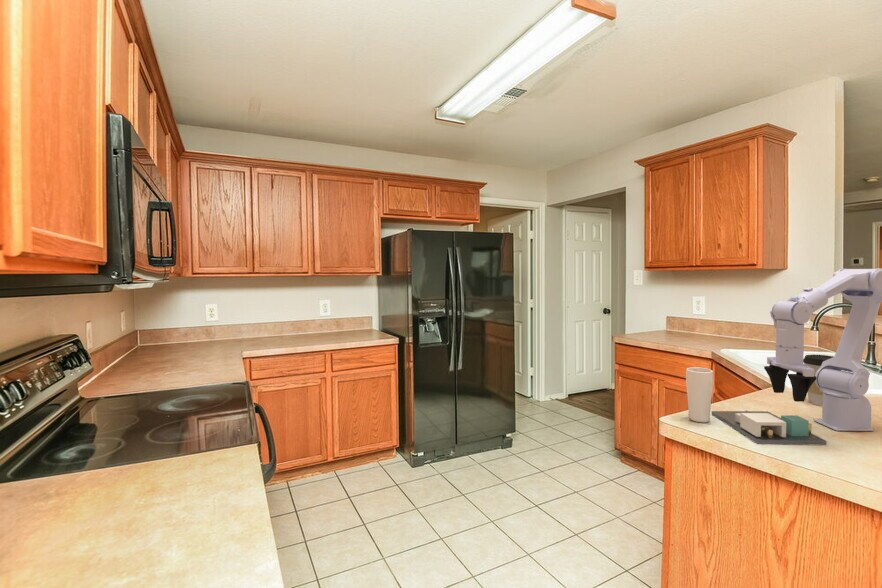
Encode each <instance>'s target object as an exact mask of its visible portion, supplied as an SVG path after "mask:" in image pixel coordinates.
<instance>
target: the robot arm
mask: <svg viewBox="0 0 882 588" xmlns="http://www.w3.org/2000/svg"><path fill="white" fill-rule="evenodd" d="M802 289H803V291H801V292H799V293H797V294H796V295H793V296H791V297H790V298H788V299H787V300H779V301H778V302H776V303H775V304H773V306H772V308H771V310H770V312H769V314H770V317H771V319H772V321H773V326H774V328H775V356H767V357H766V363H767V365H765V366H764V365H763V367H764V370H765V372H766V373H767V375H768V378H769V380H770V383H771V388H772V391H773V393H775V394H783V393H784V392H785V388H786V380H787V377H788V379H789V381H790V385H791V389H792V399H793V401H794V402H800V403H801V402H803V403H804V402H805V400H806V398H807V396H808V390H809V388H810V386H811V385H812V384H813V382H814V381H815V383H816V385H817V386H818V387H819V388H820V391H821V392H823V406H821V407H822V411H821V413H822V414H821V418H814V419H813V421H814V422H815V423H818V424H819V425H820V424H821V425H823V426H825V427H826V428H828V429H831V430H834V431H838V432H839V431H840V432H841V431H843V432H844V431H845V432H846V431H847V432H852V431H853V432H873V431H874V428H872V427H871V426H872V424H871V423H872V405H871V402H870V400H869V399H868V398H867V397H866V396H865V395H866V394H867V392H868V390H869V386H870V385H869V378H870V375H871V374H870V371H868V369H867V368H866V367H864V365H863V364H862V363H861V362H862V358H863V357H864V353H865V351H866V347H867V345H868V341H869V339H870V336H871V334H872V330H873V327H874V324H875V322H876V319H877V316H878V313H879V311H880V307H881V304H882V267H881V268H880V267H879V268H878V267H876V268H840V269H838V270H836V271H834V272H833V274H832V277H831V278H829V279H828V280H827V281H825V282H824V283H822V284H821V285H820V286H818V287H808V286H807V287H805V288H802ZM838 294H841V295H842V296H843V299H845V300H847V301H849V302H850V303H851V304H852V305H851V308H850V312H849V315H848V317H847V320H846V323H845V325H844V329H843V332H842V334H841V337H840V339H839V344H838V346H837V349H836V352H835V354H834V356H833V358H831V359H828V360H826V361H823V363H822V365H821V367H820V369H819V370H818V371H817V372H816V374H815V376H814V369H812V368H810V367H808V366H807V365H805V364H804V363H803V359H804V354H805V353H804V348H805V347H804V345H805V344H804V343H805V342H804V341H805V335H804V334H805V333H804V332H805V324H807V323H808V322H809V321H810V319H811V318H812V317H811V316H812V315H813V314H814V312H817V311H818V310H820V309H821V308H823V307H825V306H826V305H828V303H829V299H830V298H832V297H834V296H837V295H838ZM790 371H791V372H793V373H789V372H790Z"/></svg>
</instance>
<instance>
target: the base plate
mask: <svg viewBox="0 0 882 588" xmlns="http://www.w3.org/2000/svg"><path fill="white" fill-rule="evenodd" d="M735 413H769V414H771V415H772V416H774V417H776V418H778V419H780V420H781V416H778V415H776V414H774V413H772V412H770V411H768V410H767V411H764V410H763V411H761V410H760V411H759V410H757V411H755V410H754V411H753V410H751V411H750V410H748V411H747V410H745V411H744V410H742V411H741V410H739V411H738V410H735V411H734V410H733V411H732V410H712V411H711V415H712V416H713V417H715V418H717V419H718V420H720V421H721V422H723V423H724V424H725V425H728V426H729V427H731V428H732V429H734V430H736V431H737V432H739V433H740V434H741V435H742V436H745V437H746V438H747V439H750V440H751V441H752V442H754V443H756V444H757V445H803V444H826V445H827V440H826V439H825V438H824V439H823V438H822V437H819V436H817V435H816V434H814V433H812V431H813V430H812V427H813V426H812V423H811V422H809V433H808V436H791V435H789V434H787V433H786V437H781V436H779V435H777V434H775V433H774V432H773V429H767V428H765V425H761V437H756V436H755V435H753V434H751V433H750V432H748V431H746V430H745V429H743V428H742V427H740V423H739V422H737V421H736V420H735Z"/></svg>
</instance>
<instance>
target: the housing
mask: <svg viewBox="0 0 882 588" xmlns="http://www.w3.org/2000/svg"><path fill="white" fill-rule="evenodd" d="M735 420H736V421H737V422H739V423H740V427H742V428H743V429H745V430H746V431H748V432H750V433H751V434H753V435H755V436H756V437H761V425H765V428H767V429H773V432H774V433H775V434H777V435H779V436H781V437H786V422H784V421H782V420H780V419H778V418H776V417H774V416H772V415H771V414H769V413H735Z"/></svg>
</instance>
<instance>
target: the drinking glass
mask: <svg viewBox="0 0 882 588" xmlns="http://www.w3.org/2000/svg"><path fill="white" fill-rule="evenodd" d="M685 371H686V372H685V385H686V395H687V396H686V397H687V408H688V409H687V410H688V419H689V420H691V421H693V422H696V423H702V424H703V423H704V424H705V423H709V422H710V420H711V407H712V397H713V388H714V371H713V370H712V369H709V368H706V367H698V366H697V367H696V366H694V367H687V368H686V369H685Z"/></svg>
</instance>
